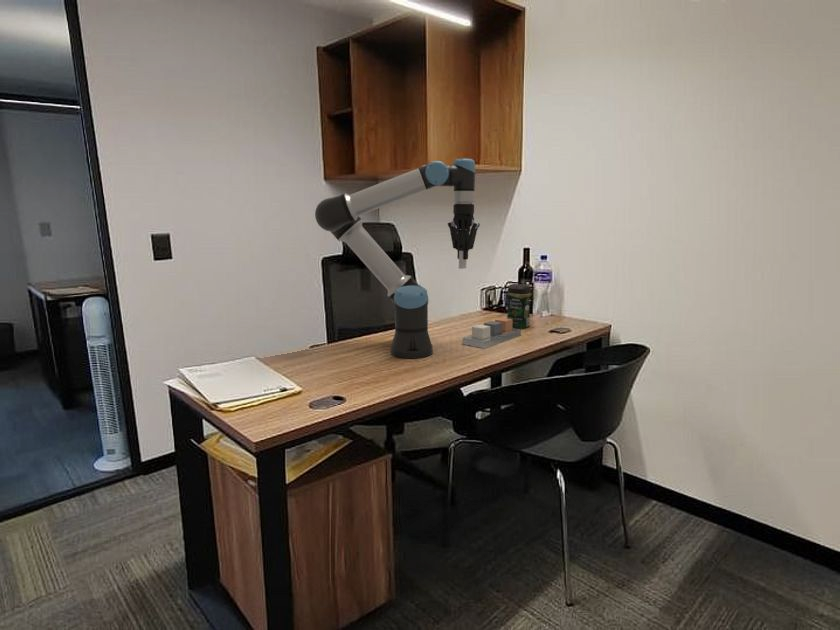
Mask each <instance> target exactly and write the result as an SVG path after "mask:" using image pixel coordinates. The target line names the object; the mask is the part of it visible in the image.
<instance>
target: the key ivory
mask: <svg viewBox="0 0 840 630" xmlns="http://www.w3.org/2000/svg"><path fill="white" fill-rule="evenodd" d="M471 335H472V338H475V339H480V340H485V339H488V338H490V326H486V325H484V324H476V325H474V326H471Z"/></svg>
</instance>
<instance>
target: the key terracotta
mask: <svg viewBox="0 0 840 630" xmlns="http://www.w3.org/2000/svg"><path fill="white" fill-rule="evenodd" d="M494 322H501V323H502V332H508V331H511V330H512V328H513V327H512V322H513V319H508V318H507V317H499V318H496V319H495V320H494Z"/></svg>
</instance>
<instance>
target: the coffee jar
mask: <svg viewBox="0 0 840 630" xmlns="http://www.w3.org/2000/svg"><path fill="white" fill-rule="evenodd" d="M531 296H532V290H531V286H530V285H527V284H520V283H512V284H509V285H508V287H507V297H508V307H507V308H508V309H507V315H506V318H508V319H513V322H512V328H516V329H527V328H529V327H530V326H531V319H530V317H531V316H530V298H531Z"/></svg>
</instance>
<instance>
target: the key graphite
mask: <svg viewBox="0 0 840 630" xmlns="http://www.w3.org/2000/svg"><path fill="white" fill-rule="evenodd" d="M483 325H486V326H490V335H492V336H496V335H499V334H502V323H501V322H495V320H494V321H493V320H490V321H487V322H484V323H483Z"/></svg>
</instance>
